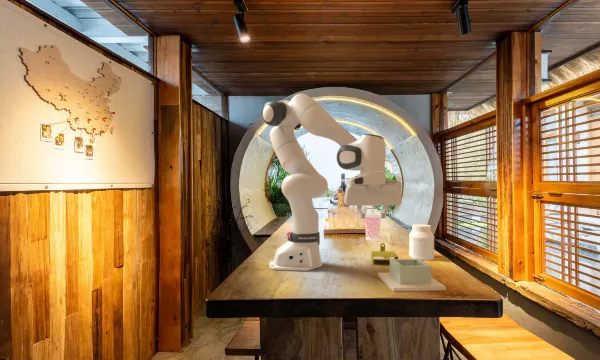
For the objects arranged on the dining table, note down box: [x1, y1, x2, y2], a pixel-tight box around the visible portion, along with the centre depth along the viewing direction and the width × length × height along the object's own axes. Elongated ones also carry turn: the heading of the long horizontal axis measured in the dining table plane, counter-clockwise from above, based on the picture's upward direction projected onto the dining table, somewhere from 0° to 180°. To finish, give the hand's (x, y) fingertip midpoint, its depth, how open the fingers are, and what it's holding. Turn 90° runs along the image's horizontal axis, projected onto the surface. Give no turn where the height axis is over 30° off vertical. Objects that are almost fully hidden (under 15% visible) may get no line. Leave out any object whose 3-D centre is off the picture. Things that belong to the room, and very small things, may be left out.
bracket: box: [370, 242, 399, 264], centre depth 158 cm, size 16×8×15 cm
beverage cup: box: [364, 206, 382, 242], centre depth 129 cm, size 6×6×14 cm
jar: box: [408, 223, 435, 261], centre depth 168 cm, size 12×10×15 cm
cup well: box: [377, 258, 447, 292], centre depth 130 cm, size 18×18×7 cm
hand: (372, 218), depth 129 cm, fingers closed on beverage cup, 6 cm apart
